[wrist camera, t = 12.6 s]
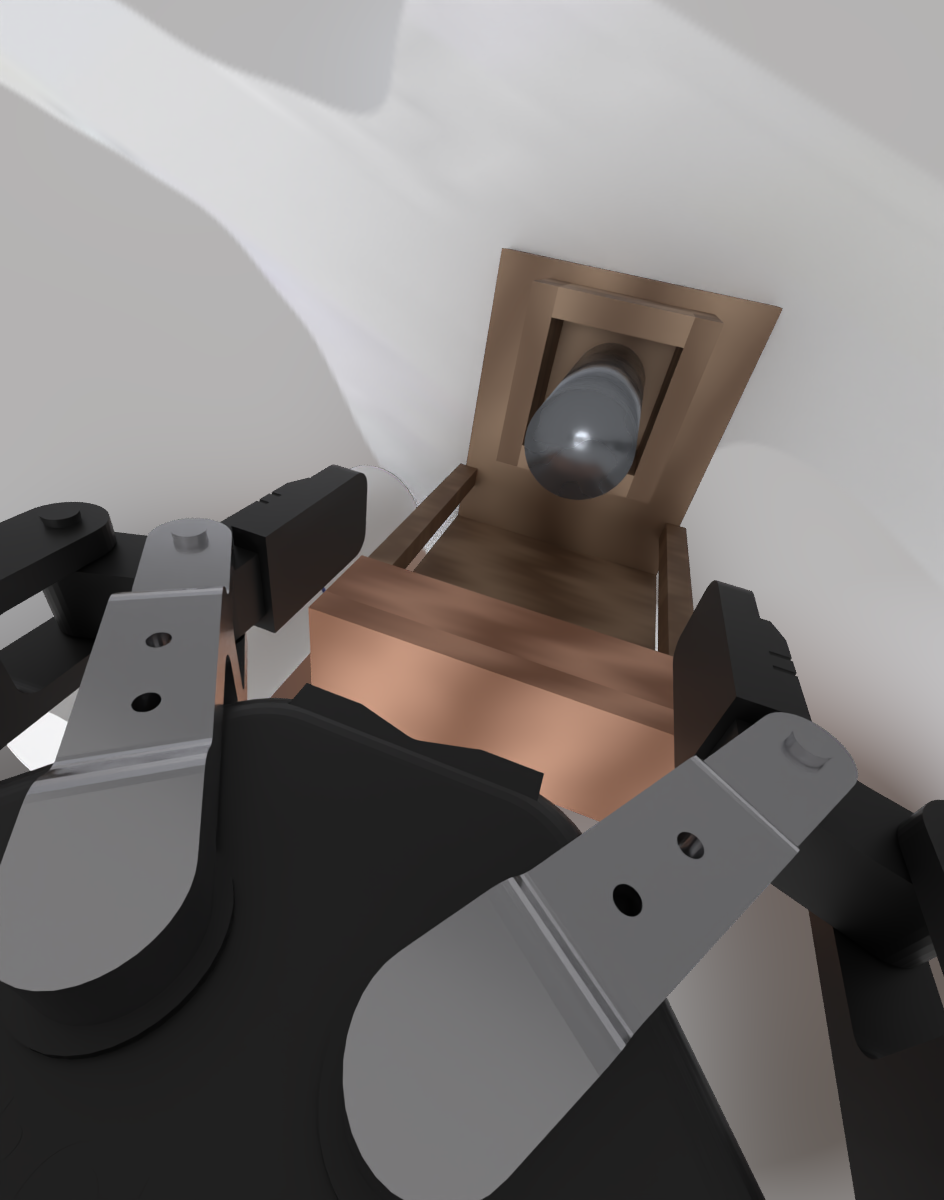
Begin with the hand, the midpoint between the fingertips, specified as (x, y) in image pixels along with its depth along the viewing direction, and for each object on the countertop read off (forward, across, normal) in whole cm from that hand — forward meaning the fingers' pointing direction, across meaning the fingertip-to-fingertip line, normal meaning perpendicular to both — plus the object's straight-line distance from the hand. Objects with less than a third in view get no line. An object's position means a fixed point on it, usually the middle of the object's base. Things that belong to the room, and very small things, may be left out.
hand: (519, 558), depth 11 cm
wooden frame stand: (+22, 0, +4) cm, 22 cm away
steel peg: (+20, 0, 0) cm, 21 cm away
